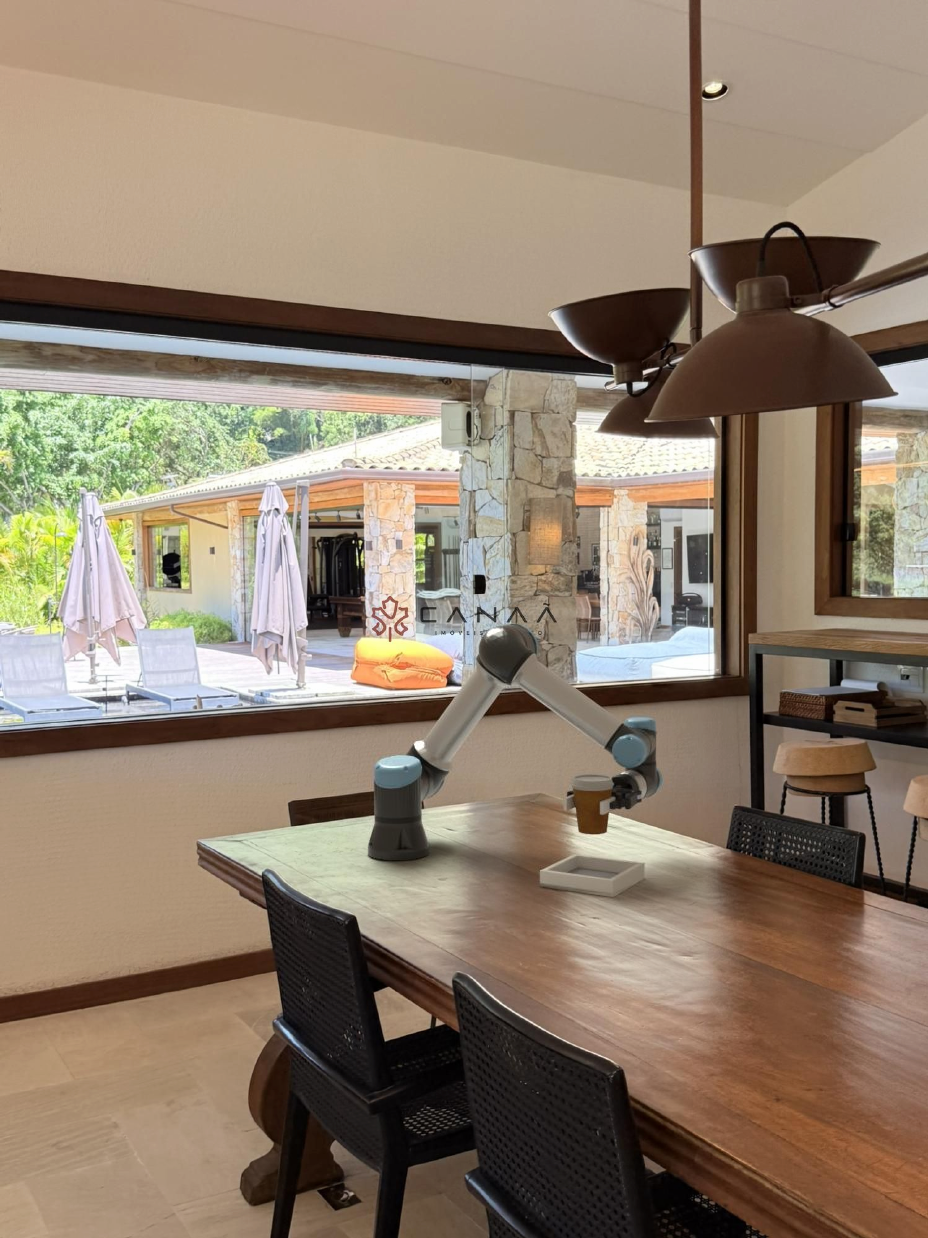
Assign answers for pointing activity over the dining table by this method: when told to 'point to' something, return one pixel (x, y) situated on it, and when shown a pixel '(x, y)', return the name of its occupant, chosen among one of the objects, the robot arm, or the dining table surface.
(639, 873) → the square well
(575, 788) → the disposable coffee cup
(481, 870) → the dining table surface
